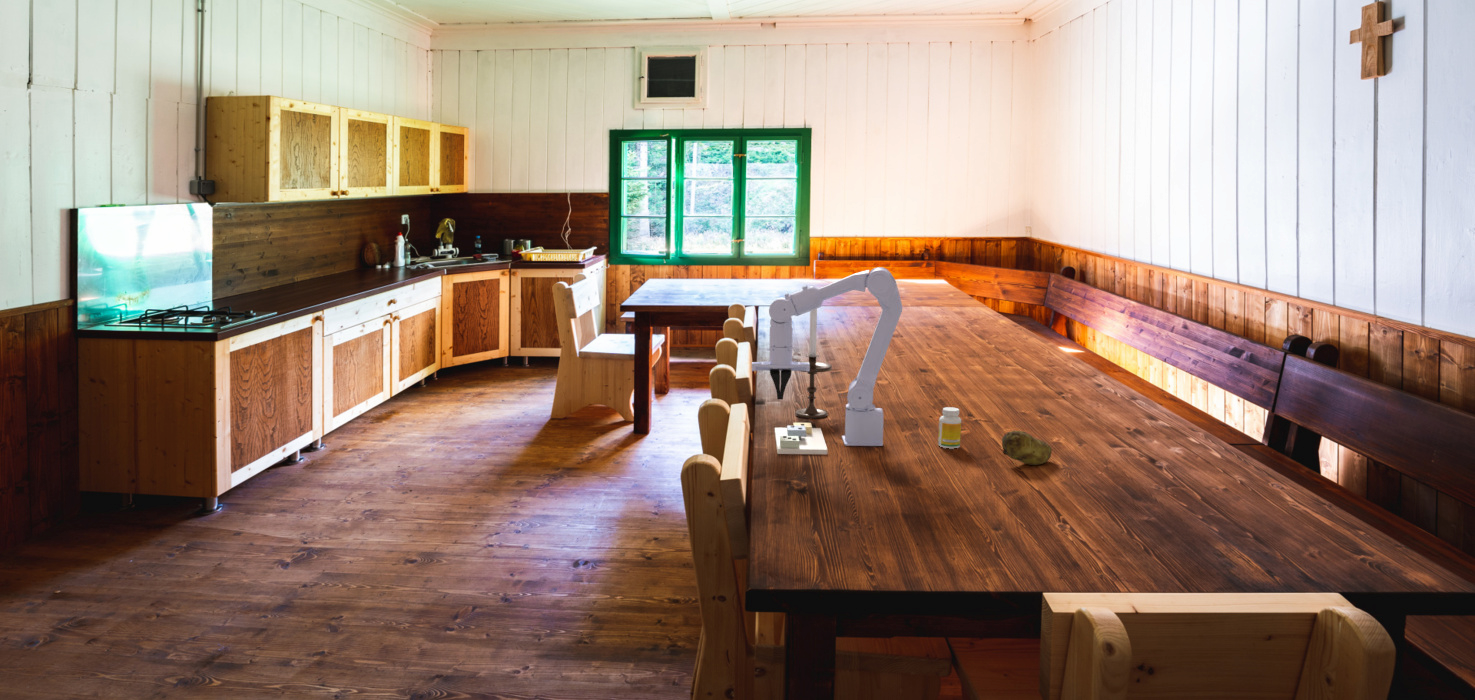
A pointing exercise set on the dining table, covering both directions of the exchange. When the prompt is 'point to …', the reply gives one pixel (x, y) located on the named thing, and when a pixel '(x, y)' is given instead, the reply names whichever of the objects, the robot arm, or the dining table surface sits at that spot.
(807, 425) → the tile one
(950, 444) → the supplement bottle
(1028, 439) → the potato
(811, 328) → the candlestick
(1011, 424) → the dining table surface
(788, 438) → the tile three
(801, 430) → the tile two
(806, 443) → the panel
